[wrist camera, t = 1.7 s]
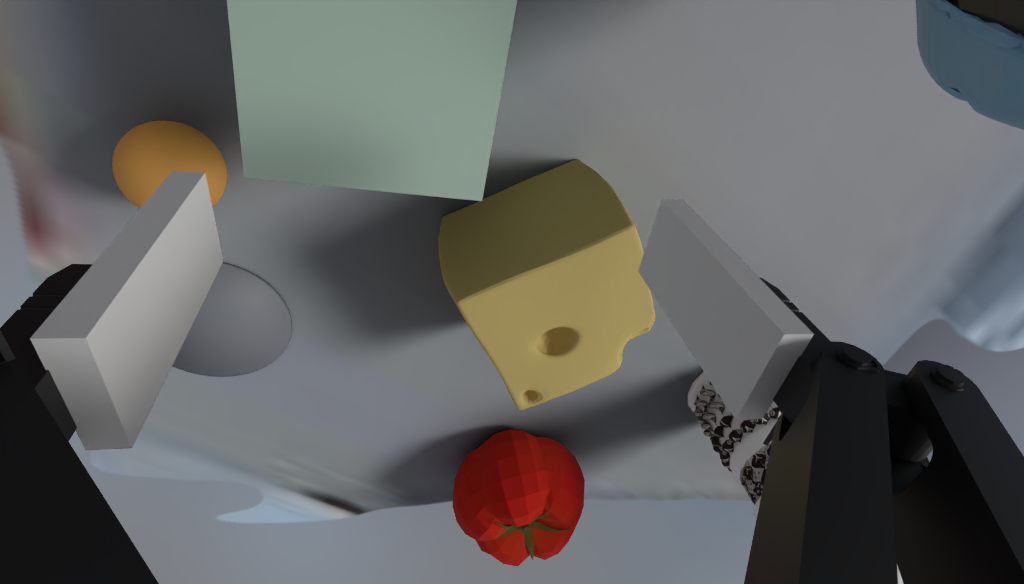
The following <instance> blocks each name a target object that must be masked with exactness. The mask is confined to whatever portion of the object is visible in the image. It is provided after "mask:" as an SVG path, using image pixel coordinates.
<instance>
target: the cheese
mask: <svg viewBox="0 0 1024 584" xmlns="http://www.w3.org/2000/svg"><path fill="white" fill-rule="evenodd" d="M438 249H439V259H440V267H441V272H442V277H443V280H444V283H445V285H446V287H447V289H448V291H449V293H450V295H451V297H452V299H453V300H454V302H455V304H456V305H457V307H458V309H459V311H460V312H461V314H462V316H463V318H464V319H465V321H466V323H467V324H468V326H469V328H470V329H471V331H472V332H473V334H474V335H475V337H476V338H477V340H478V341H479V342H480V344H481V345H482V347H483V348H484V350H485V351H486V353H487V354H488V356H489V357H490V359H491V360H492V362H493V364H494V365H495V367H496V368H497V370H498V372H499V374H500V375H501V377H502V379H503V381H504V383H505V385H506V387H507V389H508V391H509V393H510V395H511V397H512V399H513V401H514V403H515V405H516V407H517V408H518V409H519V410H524V409H527V408H529V407H532V406H535V405H538V404H541V403H543V402H546V401H548V400H551V399H553V398H556V397H559V396H562V395H565V394H567V393H570V392H572V391H575V390H577V389H579V388H582V387H584V386H586V385H588V384H590V383H593V382H595V381H597V380H600V379H602V378H604V377H606V376H608V375H610V374H612V373H613V372H615V371H616V370H617V369H618V368H619V367H620V365H621V363H622V353H623V348H624V346H625V344H626V343H627V342H628V341H629V340H630V339H632V338H634V337H636V336H639V335H641V334H644V333H647V332H648V331H650V329H651V325H653V324H654V322H655V311H654V306H653V301H652V296H651V291H650V289H649V287H648V286H647V284H646V283H645V281H644V280H643V278H642V277H641V275H640V274H639V272H638V270H639V267H640V264H641V261H642V258H643V255H644V252H643V248H642V244H641V241H640V238H639V235H638V232H637V229H636V227H635V224H634V222H633V221H632V219H631V217H630V215H629V213H628V212H627V210H626V208H625V206H624V205H623V203H622V201H621V200H620V198H619V196H618V195H617V193H616V192H615V191H614V189H613V188H612V187H611V185H610V184H609V183H608V182H607V181H606V180H604V179H603V178H602V177H601V176H600V175H599V174H598V173H597V172H596V171H594V170H593V169H591V168H590V167H588V166H587V165H585V164H584V163H582V162H581V161H580V160H578V159H576V160H573V161H570V162H568V163H565V164H563V165H561V166H558V167H556V168H553V169H551V170H549V171H546V172H544V173H541V174H539V175H536V176H534V177H532V178H529V179H527V180H525V181H522V182H520V183H518V184H515V185H513V186H511V187H509V188H506V189H504V190H502V191H500V192H498V193H495V194H493V195H491V196H489V197H487V198H485V199H482V201H478V202H476V203H474V204H471V205H469V206H467V207H464V208H462V209H460V210H457V211H455V212H452V213H450V214H447V215H445V216H443V217H442V220H441V226H440V231H439V238H438Z"/></svg>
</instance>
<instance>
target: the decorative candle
mask: <svg viewBox="0 0 1024 584" xmlns="http://www.w3.org/2000/svg"><path fill="white" fill-rule="evenodd" d="M688 406H689V407H690V409H691V410H692V411H693V412H694V415H695V416H698V417H697V419H696V421H697V422H698V423H702V424H701V427H702V429H705V430H704V435H706V436H711V438H710V440H711V441H712V445H713V448H714V450H715V451H716V452H718V453H719V454H720V458H721V460H722V464H723V465H724V466H725V467H727V468H728V469H729V471H731V472H732V473H733V474H734V476H735V478H736V479H737V481H738V482H739V483H740V485H741V486H742V487H743V488H744V489H745V490H746V492H747V493H748V495H749V497H750V498H751V500H752V501H753V503H754V504H755V509H754V516H755V517H756V519H757V515H758V510H759V505H760V500H761V495H762V490H763V485H764V480H765V474H766V469H767V464H768V459H769V454H770V449H771V444H772V441H770V443H769V444H768V445H767V446H766V445H764V444H763V442H764V441H765V439H766V437H767V436H768V434H769V433H770V431H771V430H772V428H773V426H774V425H775V423H776V422H777V420H778V419H779V417H780V415H781V414H782V411H781V410H780V409H779V407H778V406H777V405H776V403H775V402H774V401H773V403H772V404H771V406H770V407H769V409H768V411H767V412H766V414H765V416H764V417H763V419H745V420H735V418H734V417H733V415H732V414H731V412H730V410H729V409H728V407H727V406H726V404H725V403H724V401H723V400H722V398H721V397H720V395H719V394H718V392H717V391H716V389H715V388H714V386H713V385H712V383H711V382H710V380H709V379H708V377H707V376H706V374H705V372H704V371H703V372H702V373H701V374H700V375H699V376H698V377H697V378H696V379H695V380H694V381H693V383H692V386H691V388H690V390H689V392H688ZM711 432H712V433H713V434H712V433H711ZM897 575H898V584H904V583H903V580H902V577H901V574H900V571H899V568H898V565H897Z"/></svg>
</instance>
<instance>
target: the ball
mask: <svg viewBox="0 0 1024 584" xmlns="http://www.w3.org/2000/svg"><path fill="white" fill-rule="evenodd" d="M112 168H113V174H114V177H115V180H116V183H117V185H118V187H119V188H120V190H121V192H122V193H123V194H124V195H125V197H126V198H127V199H128V200H129V201H130V202H132V203H133V204H134V205H135V206H137V207H138V208H141V207H142V206H143V205H144V204H145V202H146V201H147V200H148V199H149V198H150V196H151V195H152V194H153V193H154V192H155V191H156V189H157V188H158V187H159V186H160V185H161V183H162V182H163V181H164V180H165V179H166V178H167V176H168V175H169V174H170V173H171V172H172V171H188V172H205V174H206V179H207V184H208V189H209V194H210V199H211V204H212V207H213V206H214V205H215V204H216V203H217V202H218V201H219V199H220V198H221V197H222V195H223V193H224V190H225V187H226V183H227V169H226V164H225V161H224V158H223V156H222V154H221V152H220V151H219V149H218V148H217V146H216V145H215V144H214V143H213V142H212V141H211V140H210V139H209V138H208V137H207V136H206V135H204V134H203V133H201V132H200V131H198V130H197V129H195V128H193V127H191V126H188V125H186V124H183V123H179V122H174V121H163V120H161V121H151V122H147V123H144V124H141V125H138V126H136V127H134V128H133V129H131V130H130V131H128V132H127V133H126V134H125V135H124V136H123V137H122V138H121V139H120V141H119V142H118V144H117V146H116V148H115V151H114V154H113V160H112Z"/></svg>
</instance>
